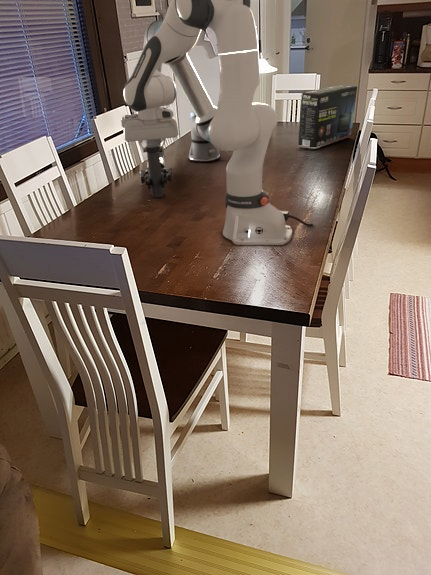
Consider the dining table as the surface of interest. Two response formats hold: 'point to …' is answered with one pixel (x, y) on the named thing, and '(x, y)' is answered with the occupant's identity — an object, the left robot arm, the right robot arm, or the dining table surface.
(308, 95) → the router box
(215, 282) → the dining table surface
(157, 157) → the dark grey cylinder
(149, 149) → the lid
